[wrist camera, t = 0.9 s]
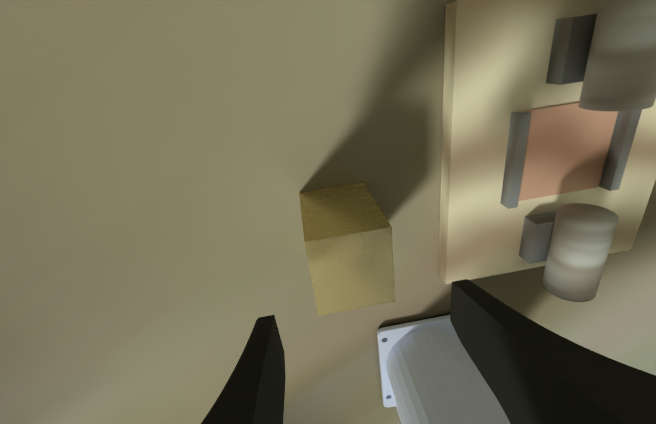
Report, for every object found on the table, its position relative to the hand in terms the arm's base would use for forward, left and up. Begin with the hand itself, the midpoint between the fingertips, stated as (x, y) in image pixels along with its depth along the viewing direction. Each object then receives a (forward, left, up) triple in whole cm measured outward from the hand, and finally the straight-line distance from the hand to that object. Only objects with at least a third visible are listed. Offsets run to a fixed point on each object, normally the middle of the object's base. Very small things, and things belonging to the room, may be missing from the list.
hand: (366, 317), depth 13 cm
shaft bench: (+2, -14, -9) cm, 17 cm away
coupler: (0, 0, -9) cm, 9 cm away
